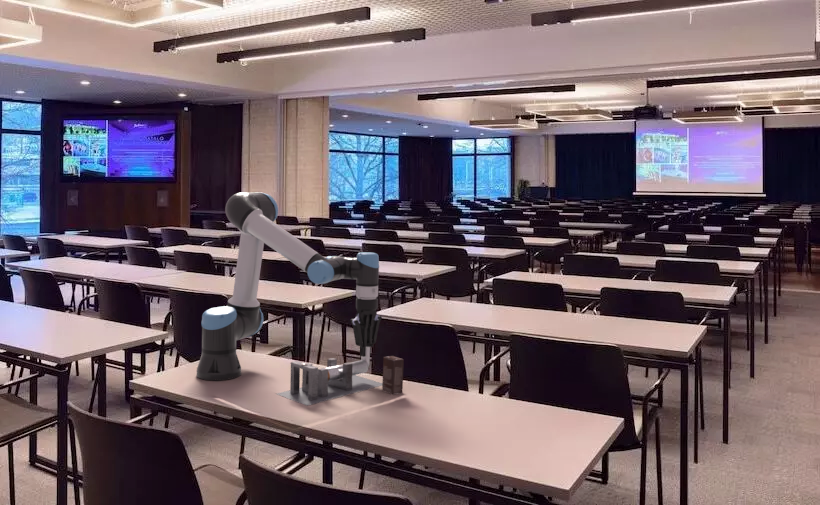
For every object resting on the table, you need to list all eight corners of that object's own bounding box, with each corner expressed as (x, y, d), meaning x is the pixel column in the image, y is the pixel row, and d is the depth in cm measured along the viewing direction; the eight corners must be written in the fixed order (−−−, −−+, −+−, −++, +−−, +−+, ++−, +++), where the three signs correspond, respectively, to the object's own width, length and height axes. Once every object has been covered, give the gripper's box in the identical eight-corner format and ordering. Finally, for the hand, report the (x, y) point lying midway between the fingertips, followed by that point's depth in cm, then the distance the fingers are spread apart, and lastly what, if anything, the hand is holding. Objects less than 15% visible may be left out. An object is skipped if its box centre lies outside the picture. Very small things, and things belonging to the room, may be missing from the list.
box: (403, 394, 224) (404, 358, 223) (392, 397, 221) (393, 360, 220) (392, 390, 229) (393, 355, 228) (381, 392, 226) (382, 356, 225)
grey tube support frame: (326, 384, 230) (327, 359, 229) (332, 383, 232) (332, 357, 231) (346, 391, 224) (347, 364, 223) (352, 389, 225) (352, 363, 224)
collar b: (302, 390, 222) (302, 364, 222) (307, 389, 224) (308, 363, 223) (321, 397, 216) (322, 370, 215) (327, 396, 218) (328, 369, 217)
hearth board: (275, 396, 218) (275, 393, 218) (353, 376, 243) (353, 374, 243) (307, 408, 208) (307, 405, 208) (385, 386, 233) (385, 384, 233)
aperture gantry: (290, 393, 219) (290, 361, 218) (296, 391, 221) (296, 360, 220) (311, 400, 212) (312, 367, 211) (317, 399, 214) (318, 366, 213)
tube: (309, 383, 221) (309, 369, 221) (359, 371, 237) (359, 358, 237) (318, 386, 218) (319, 372, 218) (368, 374, 234) (368, 360, 234)
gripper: (360, 301, 227) (359, 370, 229) (388, 297, 236) (386, 364, 238) (345, 298, 231) (343, 366, 234) (372, 294, 241) (370, 359, 243)
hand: (365, 365), depth 236 cm, fingers closed
